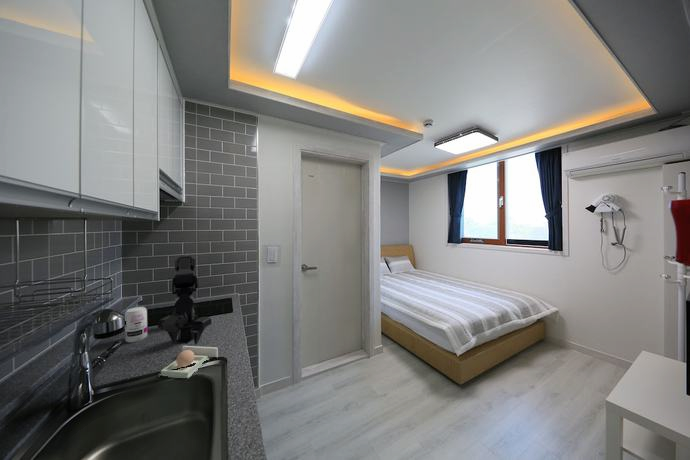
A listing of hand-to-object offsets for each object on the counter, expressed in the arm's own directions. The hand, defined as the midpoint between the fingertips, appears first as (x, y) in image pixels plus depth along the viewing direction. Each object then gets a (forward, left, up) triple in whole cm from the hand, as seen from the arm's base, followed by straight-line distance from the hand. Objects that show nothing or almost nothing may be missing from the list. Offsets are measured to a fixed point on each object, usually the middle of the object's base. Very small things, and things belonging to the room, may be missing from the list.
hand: (185, 343), depth 92 cm
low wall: (0, +8, -10) cm, 13 cm away
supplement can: (-42, +19, -10) cm, 47 cm away
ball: (0, 0, -9) cm, 9 cm away
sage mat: (0, 0, -10) cm, 10 cm away
